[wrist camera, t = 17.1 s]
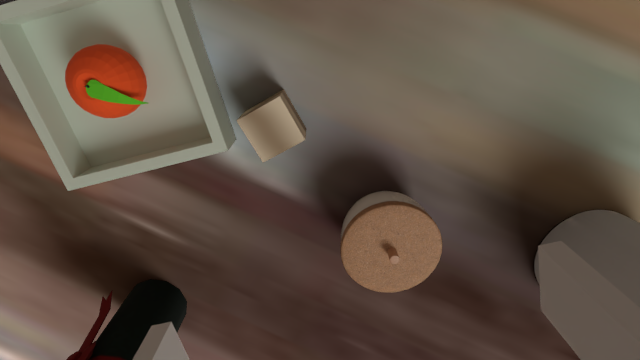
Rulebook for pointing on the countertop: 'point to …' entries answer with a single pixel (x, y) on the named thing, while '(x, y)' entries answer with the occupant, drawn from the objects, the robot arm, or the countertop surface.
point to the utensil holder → (603, 247)
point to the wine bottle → (133, 321)
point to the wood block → (272, 126)
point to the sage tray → (142, 124)
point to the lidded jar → (389, 242)
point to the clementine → (106, 81)
